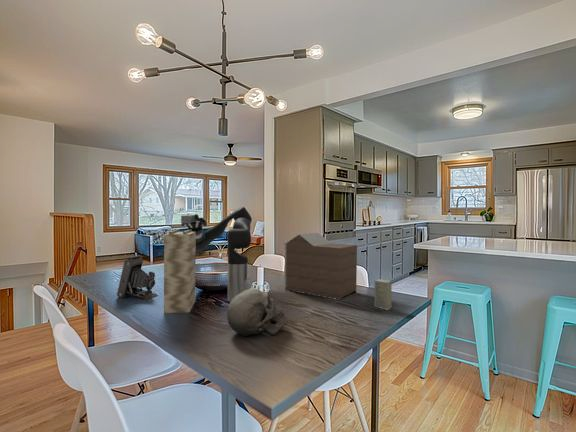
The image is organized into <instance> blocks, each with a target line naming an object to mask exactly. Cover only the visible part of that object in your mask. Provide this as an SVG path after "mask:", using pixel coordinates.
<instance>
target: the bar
mask: <svg viewBox="0 0 576 432" xmlns="http://www.w3.org/2000/svg"><path fill="white" fill-rule="evenodd" d="M180 217H181V218H180V224H182V223H192V222H196V219H195V214H189V215H187V214H186V215H185V214H184V215H181V216H180Z"/></svg>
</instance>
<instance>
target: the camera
mask: <svg viewBox="0 0 576 432" xmlns="http://www.w3.org/2000/svg"><path fill="white" fill-rule="evenodd" d="M143 262H144V259H143V257H142V255H141V254H138V255H132V256H128V257H127V258H126V259H125V260H124V261H123V265H122V270H121V274H120V277H119V278H120V279H119V284H118V288H117V292H116V295H117V298H118V299H124V298H126V297H128V296H131V295H132V296H135V297H139V298H142V299H144V300H147V301H148V300H152V299H154V298H156V297H158V296H159V295H158V294H156V293H154V292H153V291H152V289H153V288H154V286H155V285H156V280H155V277H156V274H155V272H154V271H148V272H146V271H144V270H143V269H142V266H143ZM143 288H145V289H146V290H144V289H143Z"/></svg>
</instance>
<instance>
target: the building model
mask: <svg viewBox="0 0 576 432" xmlns="http://www.w3.org/2000/svg"><path fill="white" fill-rule="evenodd" d="M283 246H284V250H285V251H284V254H285V255H284V260H285V261H284V290H285V289H287V290H286V291H290V290H293V291H292V292H295V291H299V292H298V293H300V292H304V293H303V294H305V293H310V294H315V295H320V296H326V297H331V298H336V299H340V300H341V298H344V297H345V296H347V295H349V294H352V293H355V292H354V291H356V292H357V276H358V274H357V269H358V264H357V263H358V260H357V259H358V251H357V250H358V245H357V244H348V243H347V244H345V243H336V242H335V243H333V242H330V241H329V240H328V239H327V238H325V237H324V236H323V235H321V234H320V233H319V232H312V233H300V234H299V233H298V234H297V235H296V236H294V237H293V238H292V239H290V240H289V241H287V242H284V243H283ZM310 294H309V295H310ZM315 295H314V296H315ZM320 296H319V297H320ZM326 297H325V298H326ZM331 298H330V299H331ZM336 299H335V300H336Z"/></svg>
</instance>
